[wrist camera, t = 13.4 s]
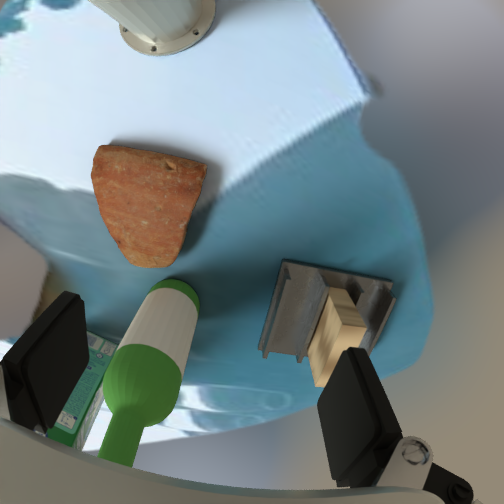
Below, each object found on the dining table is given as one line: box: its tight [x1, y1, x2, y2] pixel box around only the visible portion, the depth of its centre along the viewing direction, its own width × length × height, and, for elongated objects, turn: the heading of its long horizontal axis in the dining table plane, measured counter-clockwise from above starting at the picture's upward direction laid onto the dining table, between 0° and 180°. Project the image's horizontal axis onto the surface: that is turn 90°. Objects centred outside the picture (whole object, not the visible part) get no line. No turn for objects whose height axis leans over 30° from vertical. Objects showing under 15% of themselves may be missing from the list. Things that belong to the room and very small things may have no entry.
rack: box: [258, 259, 397, 363], centre depth 43 cm, size 15×17×4 cm
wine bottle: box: [97, 279, 200, 468], centre depth 30 cm, size 8×8×30 cm
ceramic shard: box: [91, 145, 207, 268], centre depth 37 cm, size 15×6×15 cm
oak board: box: [307, 287, 367, 387], centre depth 40 cm, size 10×3×10 cm, turn 169°
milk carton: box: [33, 331, 119, 451], centre depth 36 cm, size 9×9×25 cm
